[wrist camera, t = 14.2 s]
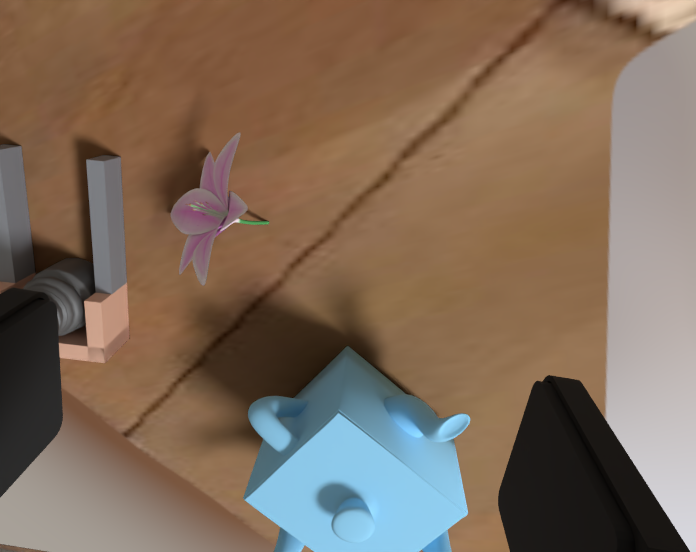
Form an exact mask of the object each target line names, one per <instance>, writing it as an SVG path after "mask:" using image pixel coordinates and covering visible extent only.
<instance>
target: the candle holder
mask: <svg viewBox="0 0 696 552" xmlns="http://www.w3.org/2000/svg"><path fill="white" fill-rule="evenodd" d="M23 289H26V290H32V291H38V292H44V293H45V294H47V295H48V297H49V299H50V301H53V302H54V303H55V304H56V306H57V316H58V336H63V335H66V334H68V333H70V332H73V331H74V330H76V329H79V328H81V327H83V326H85V325H86V318H85V306H84V301H85V300H86V299H87V298H89V297H90V296H92V295H93V294H94V293H96V290H95V276H94V264H92V263H91V262H88V261H86V260H83V259H80V258H66V259H64V260H62V261H60V262H58V263H56V264H54V265H52V266H50V267H48V268H46V269H45V270H43V271H41V272H39V273H37V274H36V275H35V276H34V277H33V279H32V280H31V281H29V282H27V283H26V285H25V286H24V287H23Z"/></svg>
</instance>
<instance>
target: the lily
mask: <svg viewBox="0 0 696 552" xmlns="http://www.w3.org/2000/svg"><path fill="white" fill-rule="evenodd" d="M239 139H240V133H237V134H236V135H235V136H234V137H233V138H232V139H231V140H230V141H229V142H228V143H227V144H226V146H225V147H224V148H223V150H222V151H221V152H220V154H219V156H218V158H217V160H216V162H215V163H214V160H213V157H212V155H211V153H210V152H209V154H208V155H207V157H206V160H205V163H204V167H203V170H202V175H201V181H200V189H199V188H196V189H193V190H190V191H188V192H187V193H185V194H184V195H183V196H182V197H181V198H180V199H179V200H178V201H177V202H176V204H175V205H174V207H173V209H172V211H171V219H172V221H173V223H174V225H175V226H176V227H177V228H178V229H179V230H180V231H181V232H183V233H184V234H189V236H188V238H187V241H186V243H185V246H184V250H183V254H182V258H181V262H180V269H179V275H180V274H181V273H182V272H183V271H184V269H185V268H186V267H187V266H188V264H189V263H190V262H191V260H192V259H193V266H194V269H195V273H196V275H197V278H198V280H199V282H200V283H201V285H205V282H206V278H207V273H208V267H209V260H210V255H211V249H212V245H213V241H214V238H215V237H216V236H217V235H218V234H220V233H221V232H222V231H223V230H225V229H226V228H227V227H228V226H230V225H231V224H232V223H234V222H239V223H244V224H269V221H247V220H242V219H238V218H239V217H240V216H241V215H243V214H244V213H245V212H246V211H247V210H248V208H247V205H246V204H245V202H244V201H243V200H242V199H241V198H240V197H239V196H237V195H236V194H235V193H234V192H232V191H229V197H228V195H227V189H228V179H229V174H230V168H231V165H232V161H233V158H234V155H235V152H236V148H237V145H238V142H239Z"/></svg>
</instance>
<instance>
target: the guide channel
mask: <svg viewBox="0 0 696 552" xmlns="http://www.w3.org/2000/svg"><path fill="white" fill-rule="evenodd" d="M86 164H87V178H88V192H89V206H90V220H91V234H92V248H93V262H94V276H95V290H96V293H94V294H93V295H92V296H90V297H89V298H87V299H86V300H85V301H84V306H85V318H86V325H85V326H83V327H81V328H79V329H76V330H74V331H73V332H70V333H68V334H66V335H63V336H59V355H60V358H67V359H75V360H83V361H92V362H100V363H106V362H107V361H108V360H109V359H110V358H111V357H112V356H113V355H114V354H115V353H116V352H117V351H118V350H119V349H120V348H121V347H122V346H123V345H124V344H125V343H126V342H127V341H128V340H129V339H130V337H129V317H128V297H127V277H126V257H125V236H124V216H123V196H122V176H121V157H118V156H108V155H102V156H98V157H94V158H90V159H86ZM35 275H36V273H35V264H34V255H33V246H32V237H31V228H30V220H29V211H28V202H27V193H26V184H25V175H24V166H23V157H22V148H21V146H16V145H7V144H3V145H0V294H1V293H3V292H4V291H6V290H8V289H10V288H19V289H23V287H24V286H25V285H26V283H27V282H29V281H31V280H32V279H33V277H34V276H35Z"/></svg>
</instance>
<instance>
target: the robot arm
mask: <svg viewBox="0 0 696 552" xmlns="http://www.w3.org/2000/svg"><path fill="white" fill-rule="evenodd" d="M62 416H63V413H62V394H61V374H60V355H59V336H58V316H57V306H56V304H55V303H54V302H53V301H50V299H49V297H48V295H47V294H45V293H44V292H38V291H32V290H26V289H19V288H10V289H8V290H6V291H4V292H3V293H1V294H0V497H1V496H2V495H3V494H4V493H5V492H6V491H7V490H8V488H9V487H10V486H11V485H12V484H13V483H14V482H15V481H16V479H17V478H18V477H19V476H20V475H21V474H22V473H23V472H24V471H25V470H26V468H27V467H28V466H29V465H30V464H31V463H32V462H33V461H34V460H35V458H36V457H37V456H38V455H39V454H40V453H41V452H42V451H43V450H44V449H45V448H46V446H47V445H48V444H49V443H50V442H51V441H52V440H53V439H54V438H55V436H56V435H57V433H58V432H59V430H60V427H61V424H62V418H63V417H62ZM498 506H499V511H500V515H501V519H502V523H503V526H504V530H505V534H506V538H507V542H508V545H509V549H510V552H690V551H689V549H688V547H687V546H686V544H685V543H684V541H683V540H682V538H681V537H680V535H679V534H678V532H677V530H676V529H675V527H674V526H673V524H672V523H671V521H670V519H669V518H668V516H667V515H666V513H665V512H664V510H663V509H662V507H661V506H660V504H659V502H658V501H657V500H656V498H655V496H654V495H653V493H652V491H651V490H650V488H649V487H648V485H647V484H646V482H645V481H644V479H643V477H642V476H641V474H640V473H639V471H638V470H637V468H636V467H635V465H634V464H633V462H632V460H631V459H630V457H629V456H628V454H627V453H626V451H625V449H624V448H623V446H622V445H621V443H620V442H619V440H618V439H617V437H616V436H615V434H614V432H613V431H612V429H611V428H610V426H609V425H608V423H607V421H606V420H605V418H604V417H603V415H602V414H601V412H600V411H599V409H598V408H597V406H596V404H595V403H594V401H593V400H592V398H591V397H590V395H589V394H588V392H587V390H586V389H585V387H584V386H583V384H582V383H581V382H580V381H579V380H575V379H569V378H563V377H556V376H550V375H548V376H547V377H545V379H544V380H543V382H541V381H536V382H535V383H534V385H533V387H532V390H531V393H530V396H529V399H528V403H527V406H526V409H525V412H524V415H523V418H522V421H521V424H520V427H519V431H518V434H517V437H516V440H515V443H514V446H513V449H512V452H511V455H510V458H509V462H508V465H507V468H506V471H505V474H504V477H503V480H502V483H501V486H500V490H499V496H498ZM0 552H47V551H41V550H34V549H29V548H22V547H16V546H10V545H4V544H0Z"/></svg>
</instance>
